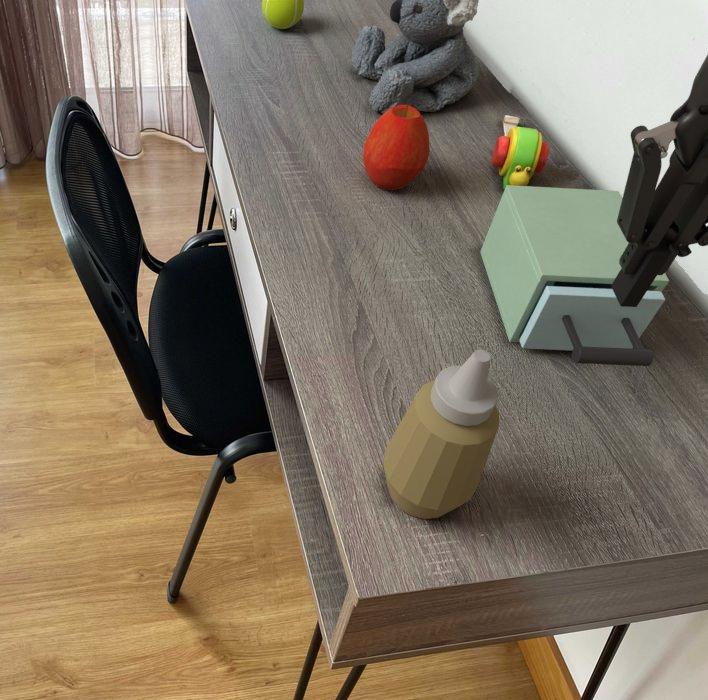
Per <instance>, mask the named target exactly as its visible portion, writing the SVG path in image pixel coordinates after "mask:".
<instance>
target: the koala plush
mask: <svg viewBox="0 0 708 700" xmlns="http://www.w3.org/2000/svg"><path fill="white" fill-rule="evenodd" d="M479 1H480V0H394V2H393V3H392V4H391V5H390V9H389V18H390V20H391V21H392V22H394V23H395V24H396V25H397V26H398V28H399V31H400V32H401V33H399V35H398V36H397V37H396V38H394V39H393V40H392V41H391V42H390V43H389V44H388V45H387V46H386V36H385V31H384V30H383V28H381V27H379V26H378V25H373V26H372V25H365V26H364V27H363V28H362V29H361V32H360V33H359V36H358V37H357V40H356V42H355V44H354V47H353V49H352V53H351V65H352V67H353V68H354V70H355V71H356V72H357V73H358V76H361V77H364V78H366V79H371V80H373V81H378V82H377V84H376V85H374V88H373V89H372V91H371V92H370V96H369V105H370V106H371V109H372V110H373V111H375V112H376V113H378V112H379V113H381V114H382V115H383V114H384V113H385V112H386V111H387V110H389V109H390V108H393V107H395V106H398V105H409V106H411V107H413V108H415V109H416V110H417V111H418V112H419V113H421V112H425V113H429V112H430V113H434V112H438V111H441V109H443V108H445V105H446V106H447V105H452V104H454V103H456V102H457V101H460V100H461V99H462V98H464V97H465V96H466V95H468V93H469V92H470V91H471V90H472V88H473V87H474V85H476V82H477V80H478V74H479V68H478V63H477V59H476V57H475V54H474V52H473V50H472V49H471V47H470V46H469V44H468V40H467V38H466V37H465V35H464V27H465V25H466V23H468V22H469V21H471V22H472V21H473V20H474V17H475V16H476V15H477V13H478V6H479Z"/></svg>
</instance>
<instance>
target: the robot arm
mask: <svg viewBox="0 0 708 700" xmlns="http://www.w3.org/2000/svg"><path fill="white" fill-rule="evenodd" d="M630 140H631V144H632V149H633V155H632V158H631V162H630V166H629V170H628V174H627V179H626V183H625V186H624V191H623V194H622V202H621V206H620V210H619V214H618V218H617V223H618V225H619V227H620V229H621V231H622V233H623V235H624V237H625V239H626V240H627V242H629V243H628V245H627V247H626V249H625V251H624V252H623V254H622V255H621V257H620V259H619V264H620V266H621V270H620V271H619V273H618V275H617V277H616V278H615V280H614V282H613V283H612V285H611V287H612V289H613V292H614V294H615V296H616V298H617V300H618V302H619V304H620V306H622V307H637V306H638V304H639V303H640V301H641V299H642V298H643V296H644V295H645V293H646V292H647V290H648V289H649V287H650V286H651V284H652V282H653V281H654V279H655V278H656V276H657V275H663V274H664V273H665V274H666V273H667V272H668V271H669V269H670V267H671V266H672V264H673V263H674V261H675V260H676V258H677V257H679V258H685V257H688V256H689V255H691V254H692V252H693V251H692V250H691V248H690V246H691V245H696V244H697V245H698V246H701V247H707V246H708V225H707V224H708V54H707V55H706V57H705V58H704V60H703V61H702V64H701V65H700V67H699V70H698V71H697V72H696V74H695V77H694V79H693V82H692V85H691V89H690V93H689V95H688V97H687V99H686V100H685V101H684V102H683V103H682V105H680V106H679V107H678V108H677V109H676V110H674V111H673V113H672V114H671V116H670V119H669V121H667V122H665V123H663V124H660V125H657V126H655V127H653V128H651V129H648V127H647V126H646V125H638V126H635V127H634V128H633V129H632V130H631V132H630ZM672 142H673V145H674V149H673V151H672V153H671V154H670V156H669V160H668V161H669V164H668V167H667V169H666V171H665V172H664V174H663V176H662V178H661V179H660V181H659V178H660V174H661V172H662V165H663V164H662V163H663V162H662V159H665V158H666V157H667V156H668V150H669V147H670V144H671V143H672Z"/></svg>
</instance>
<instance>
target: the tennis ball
mask: <svg viewBox="0 0 708 700" xmlns="http://www.w3.org/2000/svg"><path fill="white" fill-rule="evenodd" d="M304 10H305V1H304V0H261V12H262V15H263V18H264V20H265V21H266V22H267V23H268V24H269V25H270V26H271V27H273V28H275V29H279V30H286V29H290V28H292V27H294V26H295V25H297V24H298V22H299V21H300V20H301V19H302V16H303V14H304Z"/></svg>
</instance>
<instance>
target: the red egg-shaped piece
mask: <svg viewBox="0 0 708 700" xmlns="http://www.w3.org/2000/svg"><path fill="white" fill-rule="evenodd" d="M362 154H363V155H362V161H363V166H364V170H365V172H366V174H367V177H368V178H369V181H370V182H371V183H372V184H373V185H375V187H377V188H380V189H383V190H387V191H388V190H399V189H402V188H405V187H406V186H408V184H410V183H411V182H412V181H413V180H414V179H415V178H416V177H418V176H419V175H420V174H421V173H423V171H424V170H425V167H426V165H427V163H428V161H429V157H430V134H429V130H428V126H427V123H426V120H425V118H424V117H423V115H422V114H421V112H418V111H417V110H416V109H415V108H413V107H411V106H409V105H398V106H395V107H393V108H390V109H389V110H387V111H386V112H385V113H384V114H383V113H382V115H380V117H379V118H378V119H377V120H376V121H375V122H374V124H373V125H372V128H371V129H370V132H369V134H368V136H367V137H366V141H365V142H364V145H363V153H362Z"/></svg>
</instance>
